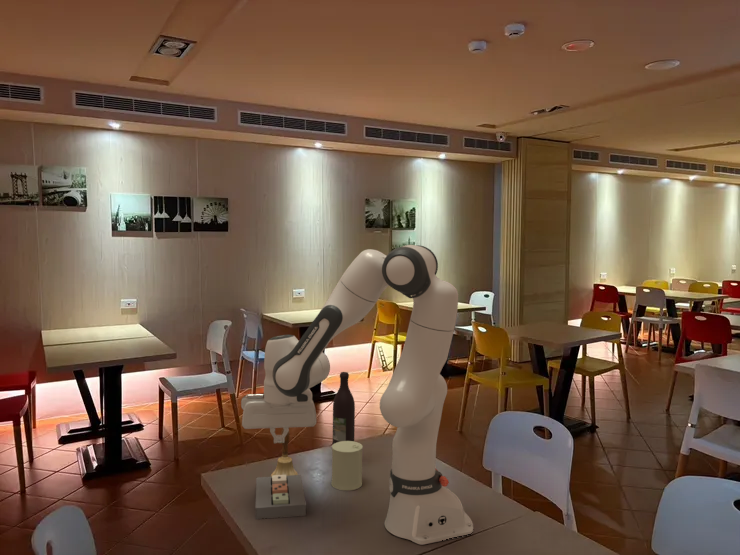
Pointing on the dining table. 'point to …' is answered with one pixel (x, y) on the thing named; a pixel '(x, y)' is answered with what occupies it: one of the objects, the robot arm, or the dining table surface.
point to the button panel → (291, 509)
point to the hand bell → (285, 461)
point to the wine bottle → (343, 412)
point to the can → (347, 465)
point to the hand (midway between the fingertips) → (279, 442)
